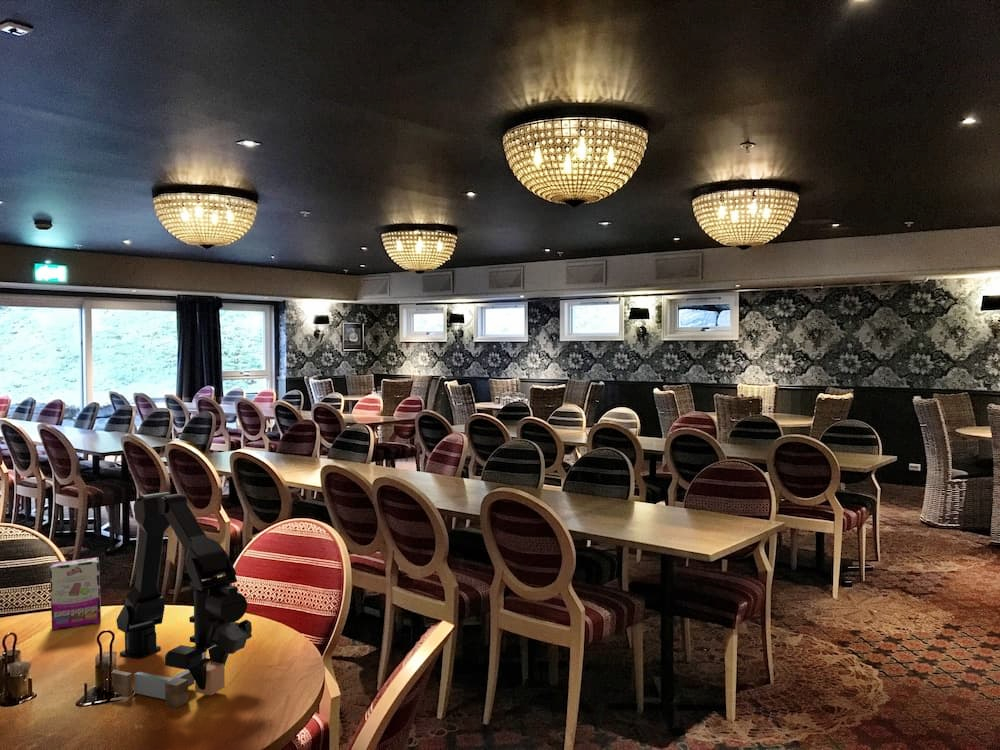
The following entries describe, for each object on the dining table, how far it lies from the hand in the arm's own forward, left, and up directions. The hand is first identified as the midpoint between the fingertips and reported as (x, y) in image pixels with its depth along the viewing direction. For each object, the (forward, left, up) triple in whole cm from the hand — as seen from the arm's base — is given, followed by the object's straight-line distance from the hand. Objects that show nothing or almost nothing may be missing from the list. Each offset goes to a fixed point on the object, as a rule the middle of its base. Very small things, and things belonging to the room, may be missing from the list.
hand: (209, 685), depth 159 cm
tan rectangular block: (0, 0, -1) cm, 1 cm away
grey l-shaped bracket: (-10, -2, -2) cm, 10 cm away
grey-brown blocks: (-12, -6, -2) cm, 13 cm away
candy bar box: (-61, +20, -2) cm, 64 cm away
